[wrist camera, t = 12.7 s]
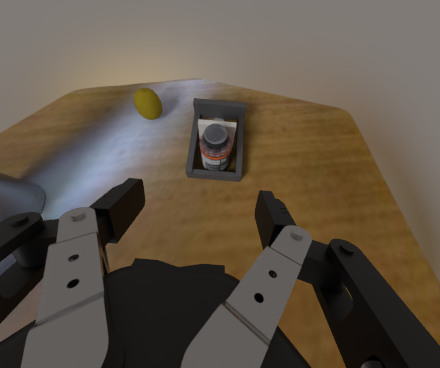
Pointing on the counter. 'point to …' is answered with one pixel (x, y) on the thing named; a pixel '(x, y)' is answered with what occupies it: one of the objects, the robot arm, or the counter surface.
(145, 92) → the lemon
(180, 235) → the counter surface
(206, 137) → the supplement bottle
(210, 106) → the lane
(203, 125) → the plate
